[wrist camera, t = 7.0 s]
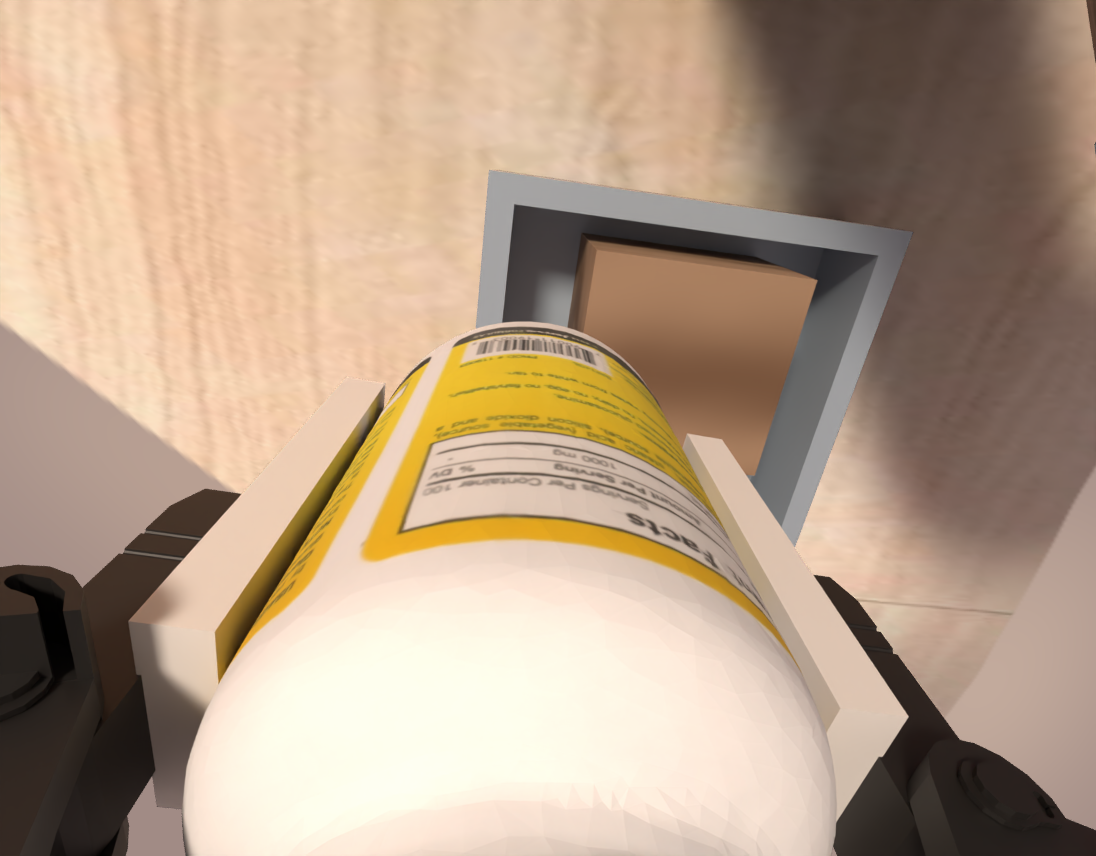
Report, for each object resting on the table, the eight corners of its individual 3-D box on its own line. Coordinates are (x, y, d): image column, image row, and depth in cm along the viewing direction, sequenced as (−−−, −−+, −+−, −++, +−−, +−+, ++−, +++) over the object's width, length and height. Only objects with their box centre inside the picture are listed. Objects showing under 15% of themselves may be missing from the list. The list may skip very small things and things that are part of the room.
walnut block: (581, 232, 25) (596, 250, 20) (755, 256, 26) (817, 280, 20) (556, 400, 28) (563, 455, 23) (711, 418, 29) (754, 475, 24)
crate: (496, 169, 25) (489, 170, 20) (845, 221, 26) (913, 231, 21) (462, 548, 33) (452, 609, 28) (730, 572, 34) (762, 634, 30)
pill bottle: (481, 597, 15) (359, 1562, 4) (329, 401, 12) (-622, 1492, 2) (706, 494, 13) (1221, 1489, 3) (586, 256, 11) (1083, 1165, 1)
